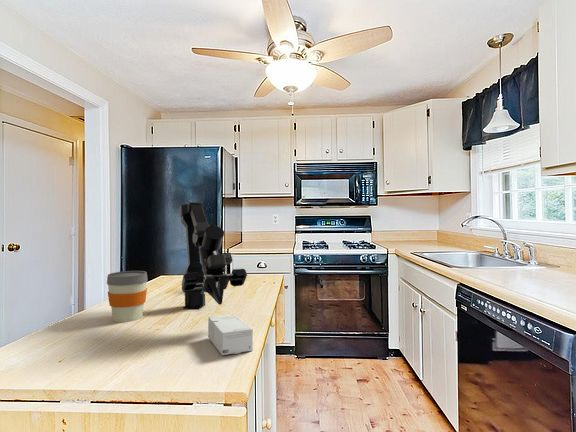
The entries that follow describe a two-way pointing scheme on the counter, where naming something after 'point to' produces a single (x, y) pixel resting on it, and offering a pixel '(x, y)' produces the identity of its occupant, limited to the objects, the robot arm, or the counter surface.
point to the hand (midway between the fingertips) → (220, 303)
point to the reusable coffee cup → (127, 294)
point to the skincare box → (230, 334)
